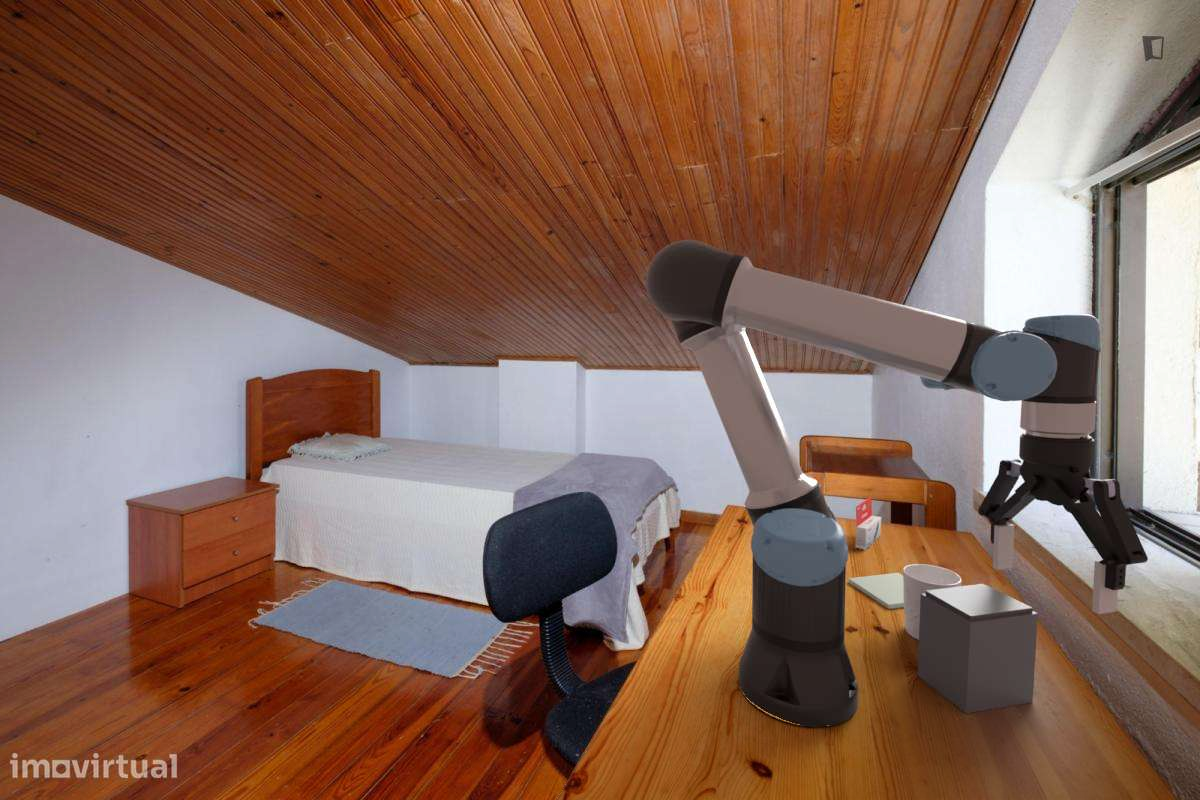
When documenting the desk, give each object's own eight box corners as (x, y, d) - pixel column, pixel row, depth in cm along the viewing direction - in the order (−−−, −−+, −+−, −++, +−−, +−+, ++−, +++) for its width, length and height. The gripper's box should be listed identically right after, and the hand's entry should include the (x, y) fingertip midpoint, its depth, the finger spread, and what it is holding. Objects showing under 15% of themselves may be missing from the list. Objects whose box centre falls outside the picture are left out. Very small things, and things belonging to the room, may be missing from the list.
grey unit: (966, 713, 68) (970, 618, 66) (917, 675, 76) (920, 589, 74) (1036, 701, 70) (1042, 608, 68) (981, 665, 78) (986, 581, 76)
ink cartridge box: (881, 537, 129) (882, 497, 128) (866, 551, 121) (867, 508, 120) (869, 535, 130) (870, 495, 129) (854, 548, 122) (855, 506, 121)
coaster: (888, 609, 94) (888, 604, 94) (848, 582, 105) (848, 578, 105) (943, 602, 96) (943, 597, 96) (898, 576, 107) (898, 572, 107)
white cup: (909, 616, 92) (911, 560, 91) (964, 633, 86) (967, 573, 85) (894, 634, 86) (896, 574, 85) (951, 654, 81) (954, 589, 80)
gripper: (1198, 447, 60) (1185, 630, 62) (994, 419, 84) (990, 551, 86) (1144, 452, 58) (1132, 639, 60) (953, 422, 83) (949, 556, 85)
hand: (1048, 588), depth 73 cm, fingers open, 13 cm apart
